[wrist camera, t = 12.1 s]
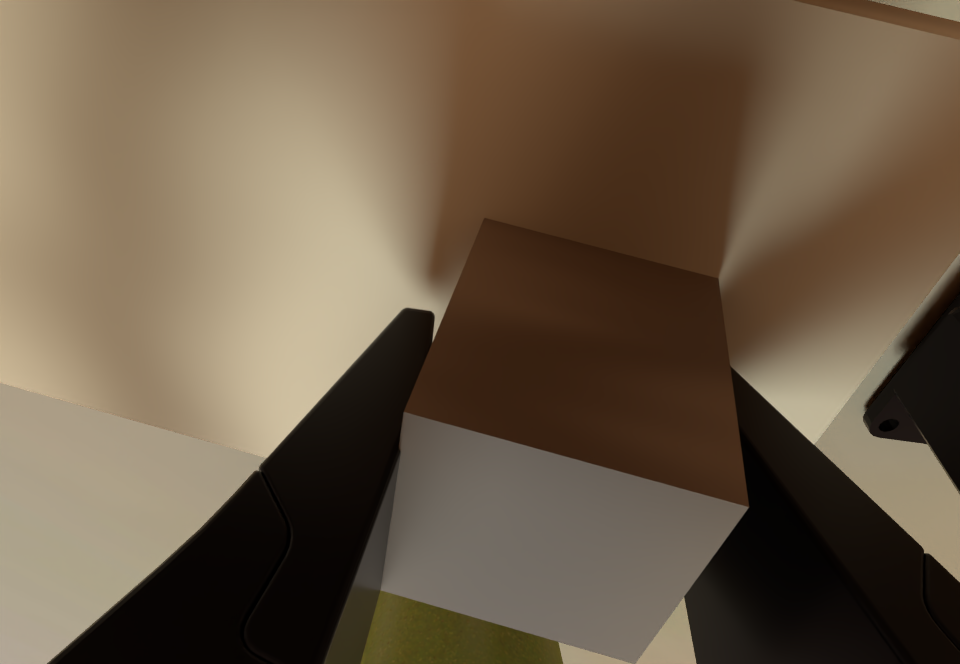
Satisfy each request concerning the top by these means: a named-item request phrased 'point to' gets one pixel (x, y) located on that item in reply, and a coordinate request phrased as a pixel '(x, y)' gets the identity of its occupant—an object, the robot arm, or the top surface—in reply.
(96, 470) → the top surface
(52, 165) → the lid
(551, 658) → the plant pot
